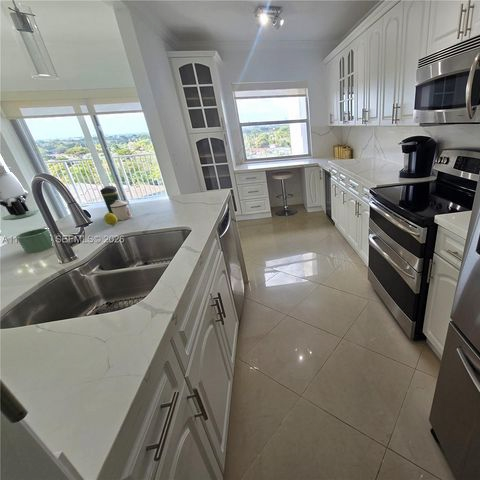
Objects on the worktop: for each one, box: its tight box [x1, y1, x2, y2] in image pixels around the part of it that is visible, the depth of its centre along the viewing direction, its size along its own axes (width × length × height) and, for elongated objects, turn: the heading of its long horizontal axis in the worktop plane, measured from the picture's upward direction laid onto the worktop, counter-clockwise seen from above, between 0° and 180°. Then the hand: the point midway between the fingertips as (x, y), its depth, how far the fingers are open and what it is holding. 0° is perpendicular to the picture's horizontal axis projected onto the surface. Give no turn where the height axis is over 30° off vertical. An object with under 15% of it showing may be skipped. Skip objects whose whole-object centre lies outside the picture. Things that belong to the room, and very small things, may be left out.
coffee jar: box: [99, 185, 122, 214], centre depth 164 cm, size 10×8×19 cm
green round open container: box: [15, 227, 54, 254], centre depth 123 cm, size 11×11×8 cm
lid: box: [1, 199, 40, 221], centre depth 114 cm, size 12×12×7 cm
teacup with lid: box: [110, 200, 133, 221], centre depth 159 cm, size 12×9×12 cm
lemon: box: [103, 212, 118, 227], centre depth 147 cm, size 6×6×8 cm
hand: (19, 212), depth 114 cm, fingers closed on lid, 3 cm apart
